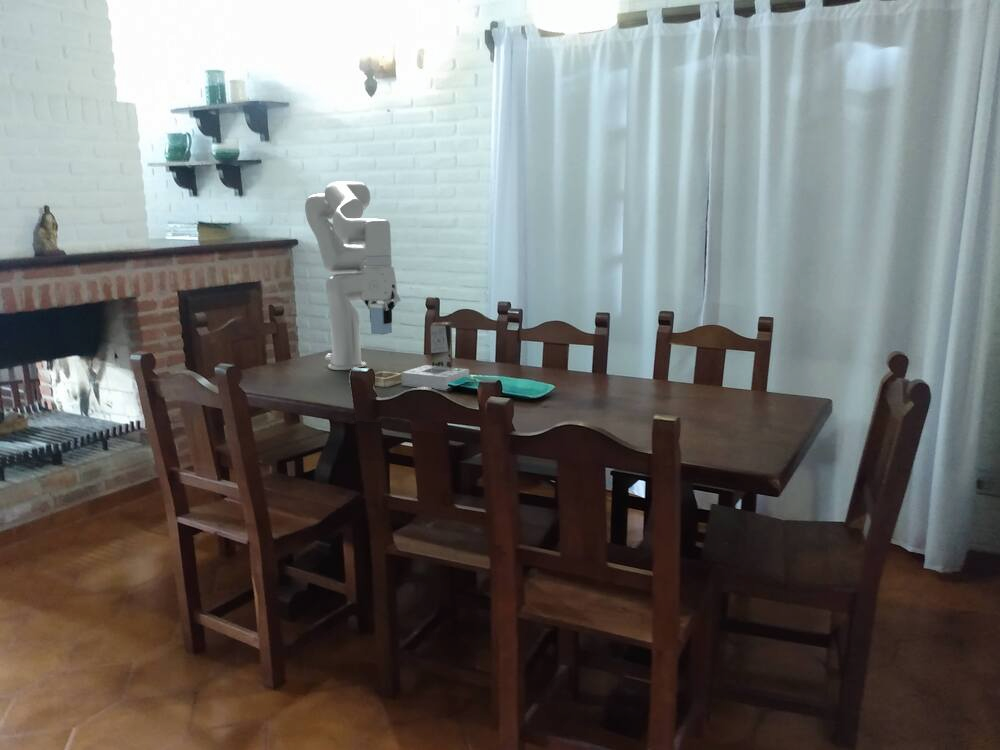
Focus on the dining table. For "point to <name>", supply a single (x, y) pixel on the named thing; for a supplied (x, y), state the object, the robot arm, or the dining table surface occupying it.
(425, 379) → the port
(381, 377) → the wooden square frame
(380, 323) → the plug
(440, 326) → the coffee box
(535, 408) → the dining table surface
